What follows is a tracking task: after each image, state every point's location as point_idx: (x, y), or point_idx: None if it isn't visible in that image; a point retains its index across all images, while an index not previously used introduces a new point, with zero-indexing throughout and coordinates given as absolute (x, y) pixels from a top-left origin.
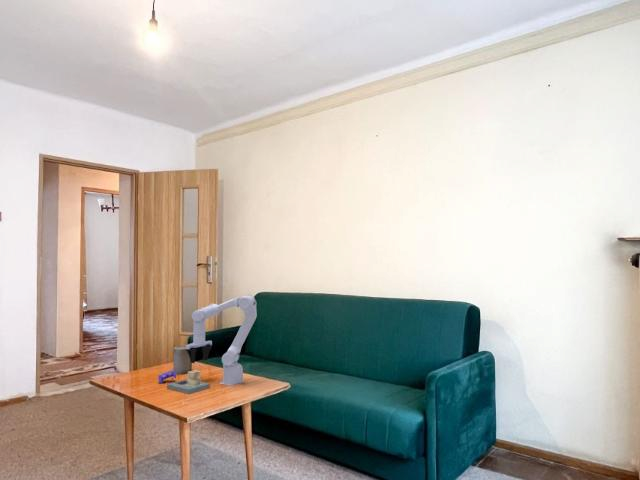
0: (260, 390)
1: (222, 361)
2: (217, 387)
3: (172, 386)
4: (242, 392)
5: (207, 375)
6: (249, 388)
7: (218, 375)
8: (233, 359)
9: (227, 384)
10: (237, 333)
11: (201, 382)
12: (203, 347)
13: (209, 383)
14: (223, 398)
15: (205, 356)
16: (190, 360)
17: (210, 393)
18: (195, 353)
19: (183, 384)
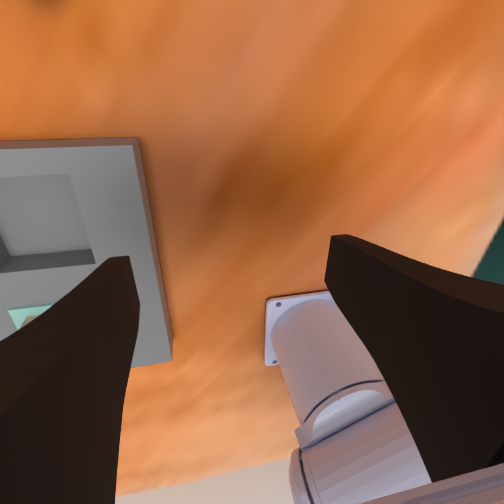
0: (287, 445)
1: (291, 481)
2: (218, 337)
3: None
4: (232, 437)
5: (412, 31)
6: (287, 415)
7: (434, 120)
8: None
9: (270, 349)
10: None
11: (149, 314)
12: (490, 369)
13: (171, 358)
14: (131, 457)
15: (353, 300)
16: (92, 277)
17: (129, 391)
18: (113, 469)
19: (9, 275)
